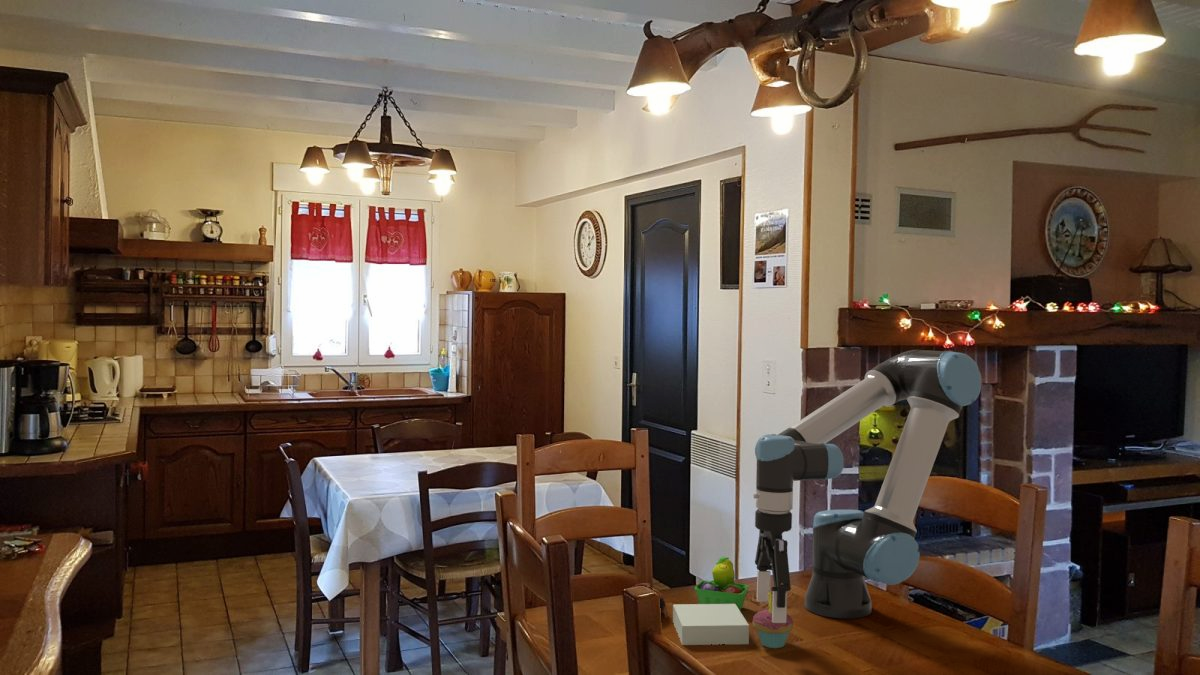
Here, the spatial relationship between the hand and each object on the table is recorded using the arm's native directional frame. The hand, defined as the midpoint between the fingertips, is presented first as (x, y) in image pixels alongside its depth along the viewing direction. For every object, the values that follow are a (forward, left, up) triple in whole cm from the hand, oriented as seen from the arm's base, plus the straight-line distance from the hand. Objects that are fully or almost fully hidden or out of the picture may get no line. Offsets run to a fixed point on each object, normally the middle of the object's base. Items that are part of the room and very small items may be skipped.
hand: (770, 611), depth 189 cm
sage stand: (+12, -7, -7) cm, 15 cm away
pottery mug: (+24, -20, -7) cm, 32 cm away
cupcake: (0, 0, -7) cm, 7 cm away
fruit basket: (+6, -24, -7) cm, 26 cm away
